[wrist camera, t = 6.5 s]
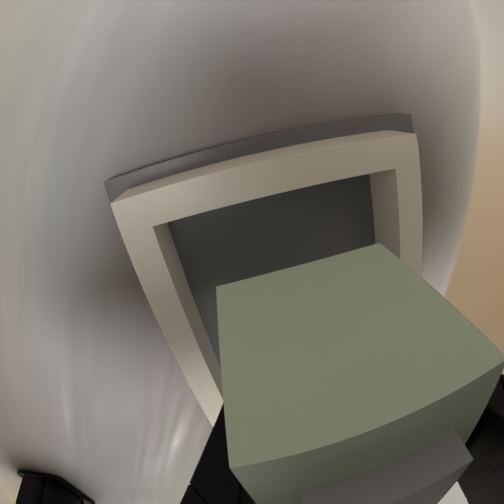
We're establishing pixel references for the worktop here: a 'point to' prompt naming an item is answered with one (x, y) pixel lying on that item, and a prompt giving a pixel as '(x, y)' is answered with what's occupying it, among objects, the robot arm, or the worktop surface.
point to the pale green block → (349, 382)
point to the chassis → (262, 221)
